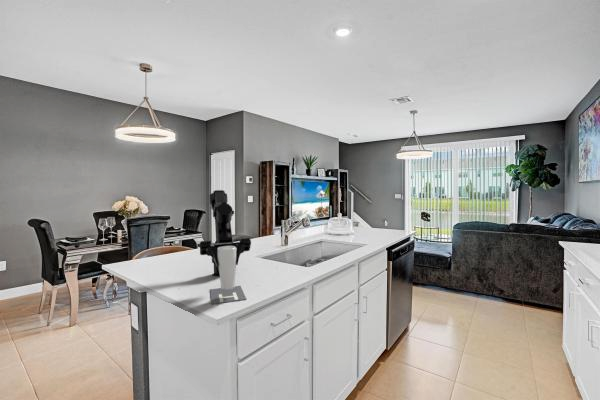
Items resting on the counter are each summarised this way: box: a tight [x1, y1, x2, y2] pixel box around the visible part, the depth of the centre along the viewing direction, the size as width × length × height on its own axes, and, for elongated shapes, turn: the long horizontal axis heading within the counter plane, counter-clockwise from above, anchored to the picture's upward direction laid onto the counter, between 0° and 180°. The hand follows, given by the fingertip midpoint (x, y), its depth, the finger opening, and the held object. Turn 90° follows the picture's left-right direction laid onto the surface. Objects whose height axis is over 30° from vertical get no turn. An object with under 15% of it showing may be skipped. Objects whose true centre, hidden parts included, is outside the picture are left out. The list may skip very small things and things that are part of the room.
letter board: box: [209, 285, 247, 305], centre depth 112 cm, size 16×12×1 cm
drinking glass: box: [217, 246, 237, 290], centre depth 109 cm, size 7×7×15 cm
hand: (227, 265), depth 107 cm, fingers closed on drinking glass, 6 cm apart
